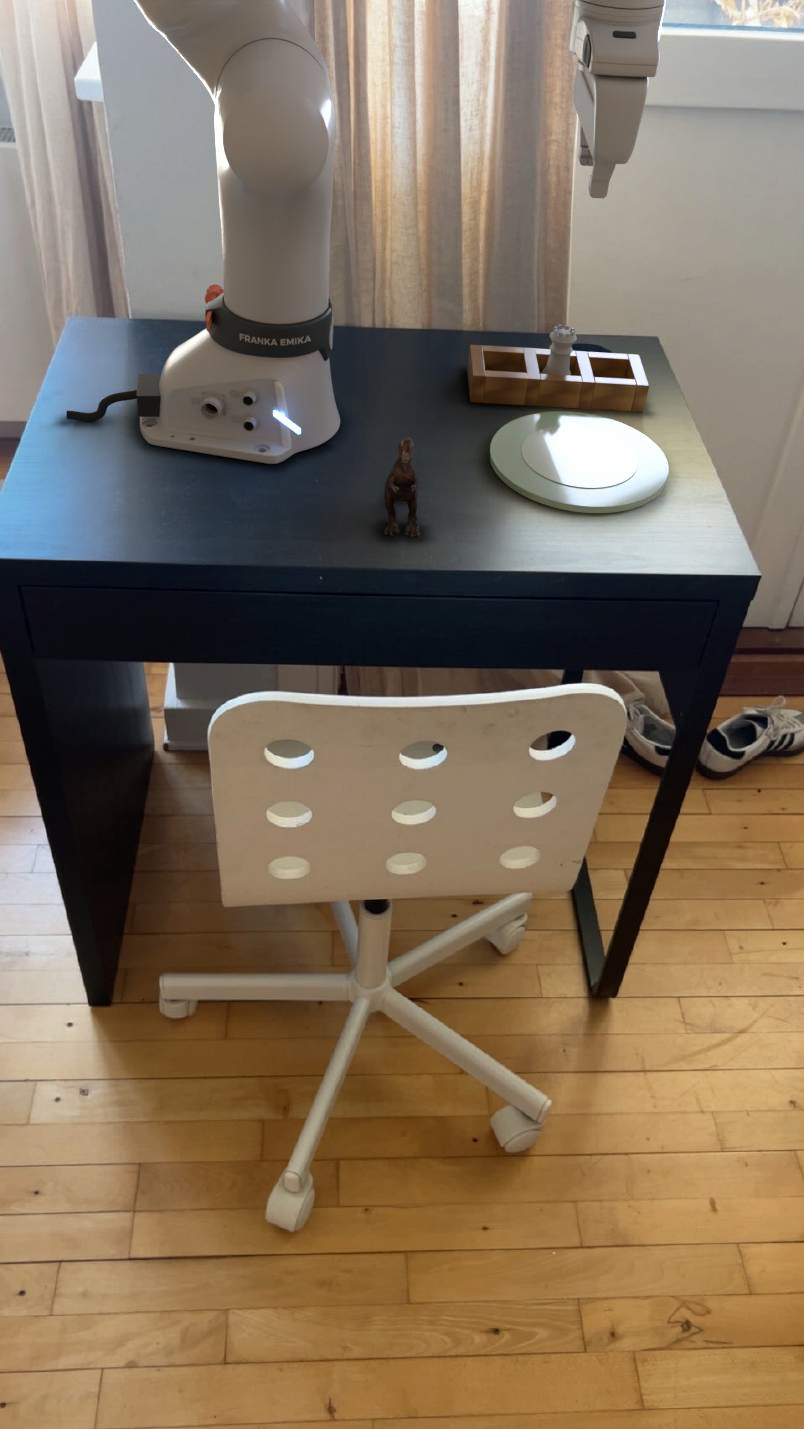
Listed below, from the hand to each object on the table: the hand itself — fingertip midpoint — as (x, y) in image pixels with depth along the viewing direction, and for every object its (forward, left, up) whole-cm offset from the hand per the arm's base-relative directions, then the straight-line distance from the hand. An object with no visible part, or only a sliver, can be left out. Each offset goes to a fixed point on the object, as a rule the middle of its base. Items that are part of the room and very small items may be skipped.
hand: (591, 179), depth 123 cm
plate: (+1, -15, -26) cm, 30 cm away
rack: (0, +2, -26) cm, 26 cm away
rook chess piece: (0, +2, -26) cm, 26 cm away
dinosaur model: (-19, -26, -26) cm, 41 cm away
